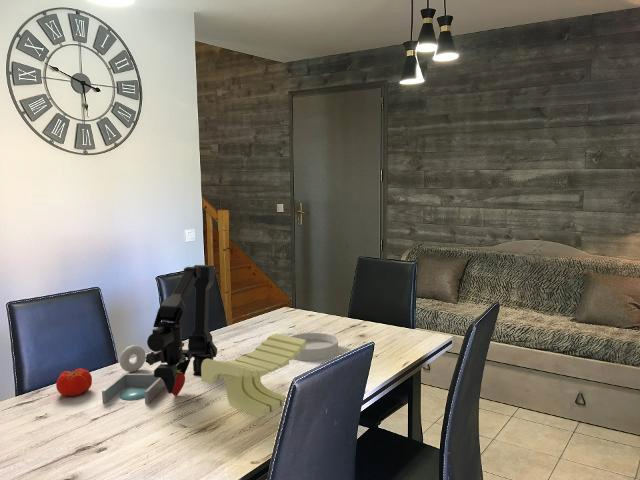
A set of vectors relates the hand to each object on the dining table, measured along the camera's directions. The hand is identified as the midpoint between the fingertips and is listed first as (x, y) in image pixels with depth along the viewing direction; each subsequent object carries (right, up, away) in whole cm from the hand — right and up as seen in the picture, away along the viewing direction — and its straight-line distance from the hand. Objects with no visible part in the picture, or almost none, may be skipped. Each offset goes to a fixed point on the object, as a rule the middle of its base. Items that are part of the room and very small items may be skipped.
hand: (175, 388), depth 169 cm
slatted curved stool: (+28, -3, -6) cm, 28 cm away
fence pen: (-14, -3, +2) cm, 14 cm away
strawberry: (0, -3, 0) cm, 3 cm away
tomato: (-35, -3, +4) cm, 35 cm away
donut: (-22, -1, +23) cm, 32 cm away
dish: (+44, +2, +41) cm, 60 cm away
